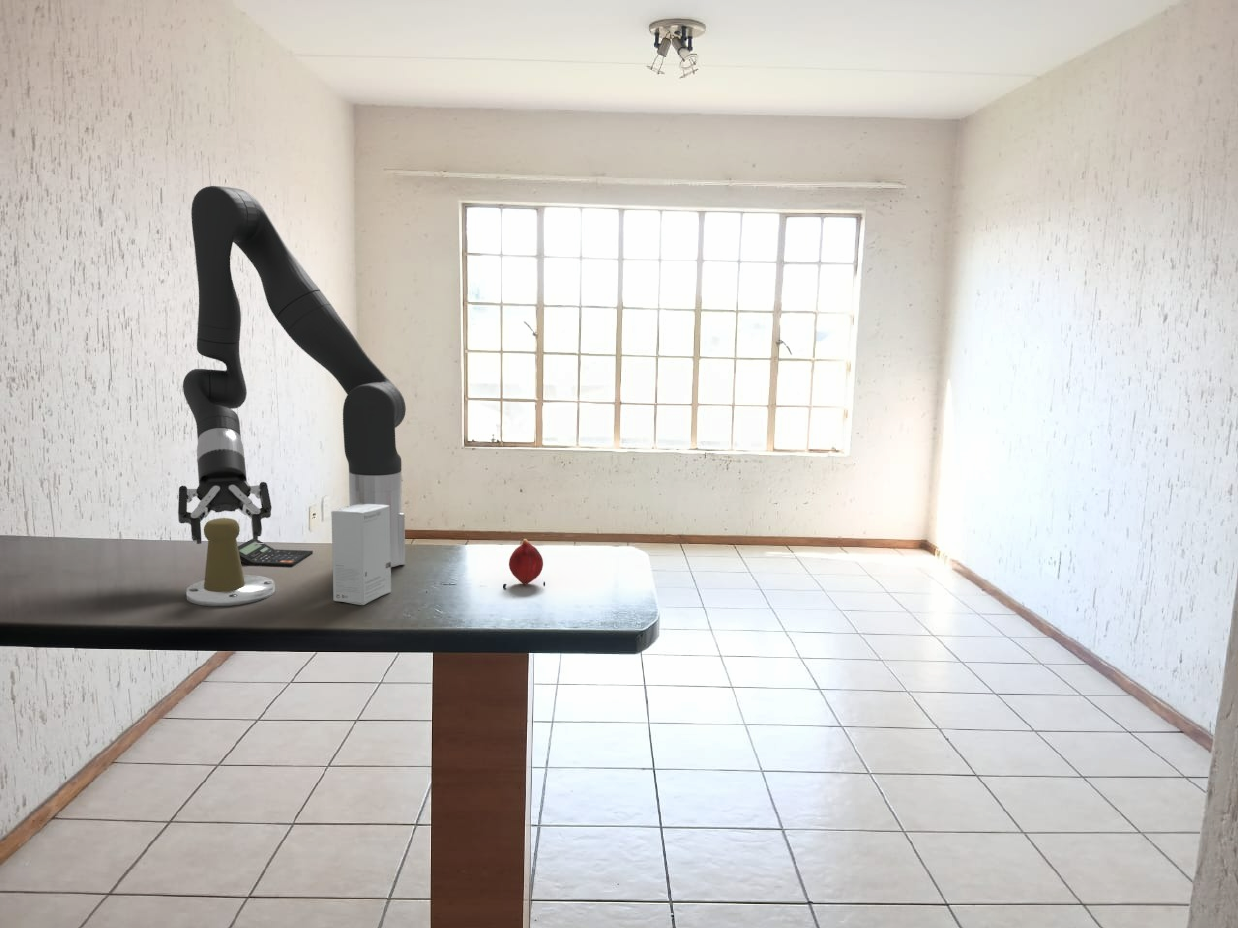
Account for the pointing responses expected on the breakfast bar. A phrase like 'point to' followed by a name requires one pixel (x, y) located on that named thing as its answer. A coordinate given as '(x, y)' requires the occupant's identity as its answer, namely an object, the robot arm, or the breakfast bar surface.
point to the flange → (232, 592)
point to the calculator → (270, 555)
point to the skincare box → (361, 553)
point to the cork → (222, 556)
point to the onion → (526, 563)
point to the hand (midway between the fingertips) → (227, 539)
